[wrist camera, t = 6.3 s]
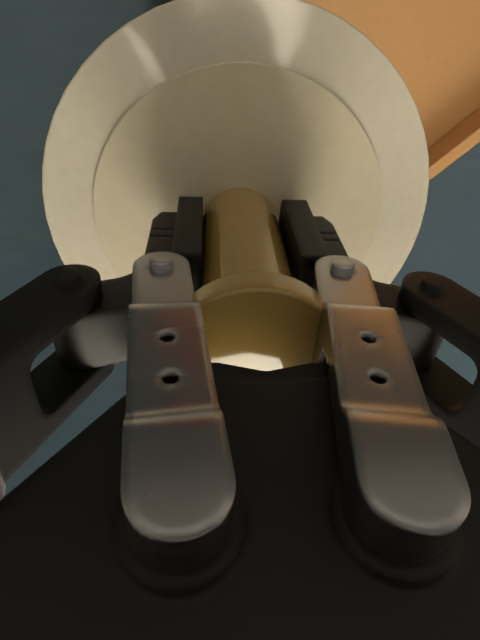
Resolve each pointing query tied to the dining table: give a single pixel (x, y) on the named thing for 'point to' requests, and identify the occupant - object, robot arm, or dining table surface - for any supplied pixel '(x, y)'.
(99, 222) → the round base post stand
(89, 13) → the dining table surface
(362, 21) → the serving tray
